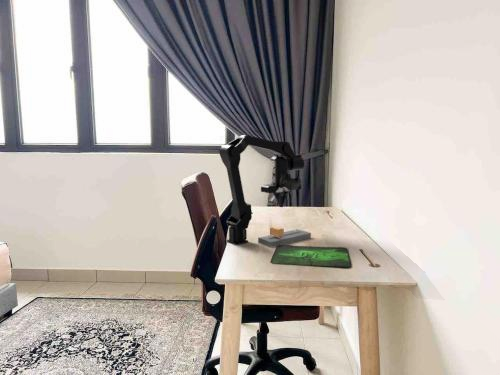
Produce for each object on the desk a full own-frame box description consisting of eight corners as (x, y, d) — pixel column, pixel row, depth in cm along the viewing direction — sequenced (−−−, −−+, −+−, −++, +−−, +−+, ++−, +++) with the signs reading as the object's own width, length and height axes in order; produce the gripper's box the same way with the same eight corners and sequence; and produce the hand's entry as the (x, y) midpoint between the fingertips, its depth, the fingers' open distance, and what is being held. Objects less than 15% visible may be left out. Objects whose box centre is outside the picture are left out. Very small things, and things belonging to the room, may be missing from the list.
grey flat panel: (271, 247, 146) (271, 241, 146) (258, 242, 153) (258, 237, 152) (310, 237, 160) (310, 232, 159) (297, 233, 166) (297, 228, 166)
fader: (277, 238, 150) (277, 229, 150) (269, 235, 154) (269, 227, 153) (283, 236, 152) (283, 228, 152) (275, 234, 156) (275, 225, 155)
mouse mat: (268, 265, 128) (268, 262, 128) (276, 246, 149) (276, 243, 149) (352, 269, 123) (352, 266, 123) (347, 249, 144) (347, 247, 144)
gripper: (277, 174, 149) (277, 212, 152) (310, 171, 161) (310, 207, 163) (260, 171, 158) (260, 208, 160) (292, 169, 169) (292, 203, 172)
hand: (281, 207), depth 164 cm, fingers closed
